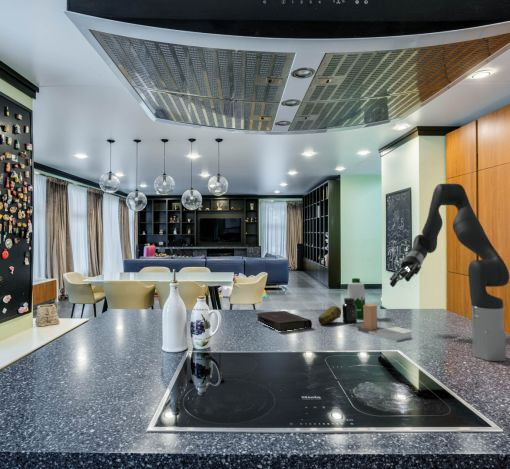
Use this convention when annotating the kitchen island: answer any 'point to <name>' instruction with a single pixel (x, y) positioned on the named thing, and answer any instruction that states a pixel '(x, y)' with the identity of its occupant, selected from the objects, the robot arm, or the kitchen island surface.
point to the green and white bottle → (357, 295)
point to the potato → (330, 315)
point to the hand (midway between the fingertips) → (398, 282)
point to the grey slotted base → (381, 332)
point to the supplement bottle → (349, 311)
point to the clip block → (370, 316)
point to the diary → (283, 320)
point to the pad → (400, 329)
